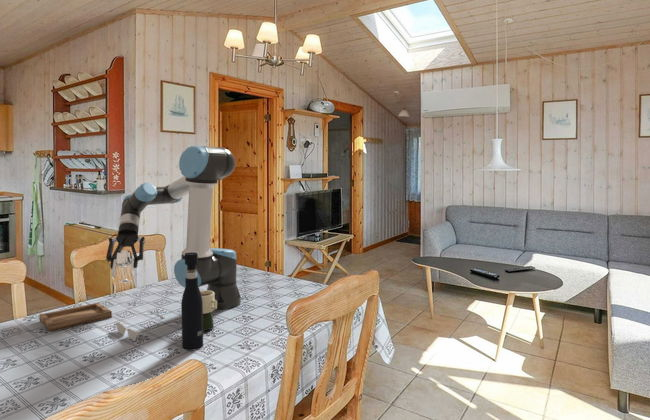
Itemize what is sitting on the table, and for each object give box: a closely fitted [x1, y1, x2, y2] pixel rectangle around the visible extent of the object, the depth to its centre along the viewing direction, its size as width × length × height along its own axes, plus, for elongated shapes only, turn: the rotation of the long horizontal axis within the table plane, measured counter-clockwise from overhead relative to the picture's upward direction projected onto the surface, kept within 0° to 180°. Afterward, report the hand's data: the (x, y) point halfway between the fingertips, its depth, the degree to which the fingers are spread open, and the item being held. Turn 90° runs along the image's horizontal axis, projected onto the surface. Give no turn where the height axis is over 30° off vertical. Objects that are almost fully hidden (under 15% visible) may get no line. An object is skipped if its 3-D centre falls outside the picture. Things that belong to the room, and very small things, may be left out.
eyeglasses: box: [115, 313, 182, 342], centre depth 148 cm, size 15×18×4 cm
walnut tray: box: [39, 302, 113, 333], centre depth 156 cm, size 14×20×2 cm
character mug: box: [200, 290, 218, 332], centre depth 148 cm, size 11×7×13 cm, turn 66°
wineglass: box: [116, 250, 133, 284], centre depth 166 cm, size 6×6×12 cm
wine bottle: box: [180, 252, 204, 351], centre depth 133 cm, size 6×6×30 cm
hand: (122, 275), depth 162 cm, fingers closed on wineglass, 6 cm apart
